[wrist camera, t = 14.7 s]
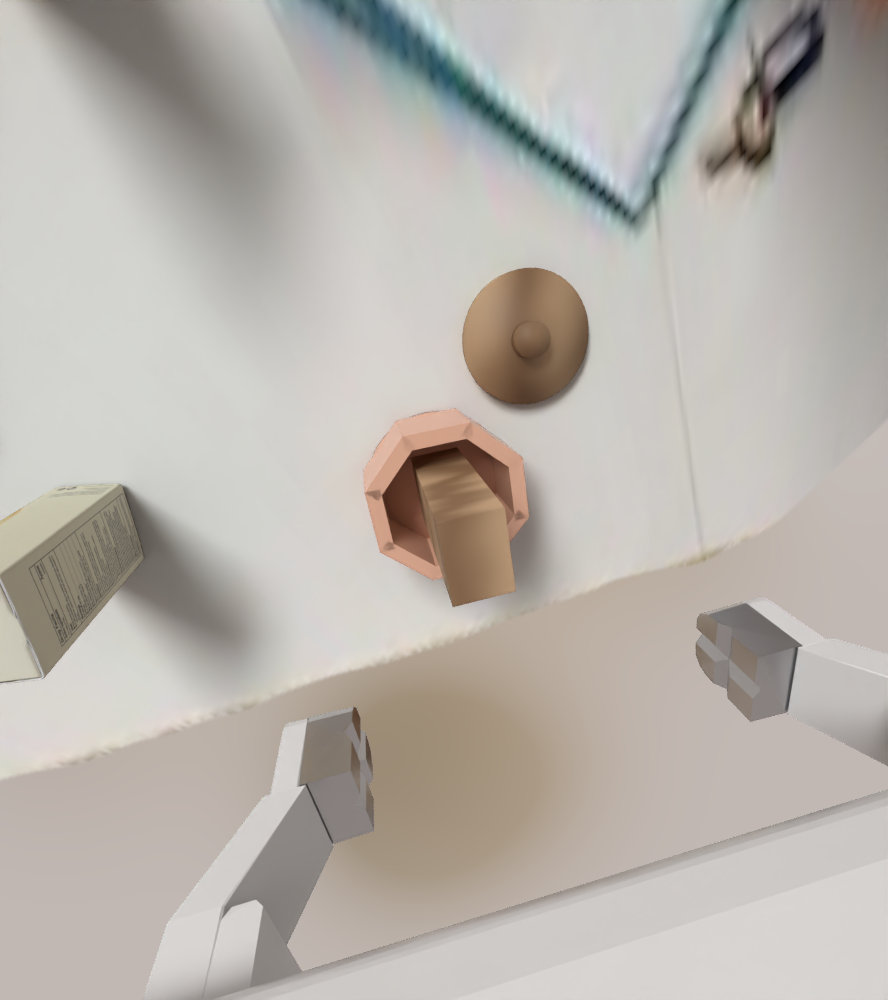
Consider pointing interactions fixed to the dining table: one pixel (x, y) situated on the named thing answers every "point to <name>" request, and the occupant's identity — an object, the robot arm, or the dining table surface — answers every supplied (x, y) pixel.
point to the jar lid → (525, 335)
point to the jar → (397, 490)
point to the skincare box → (60, 572)
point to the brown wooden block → (464, 527)
